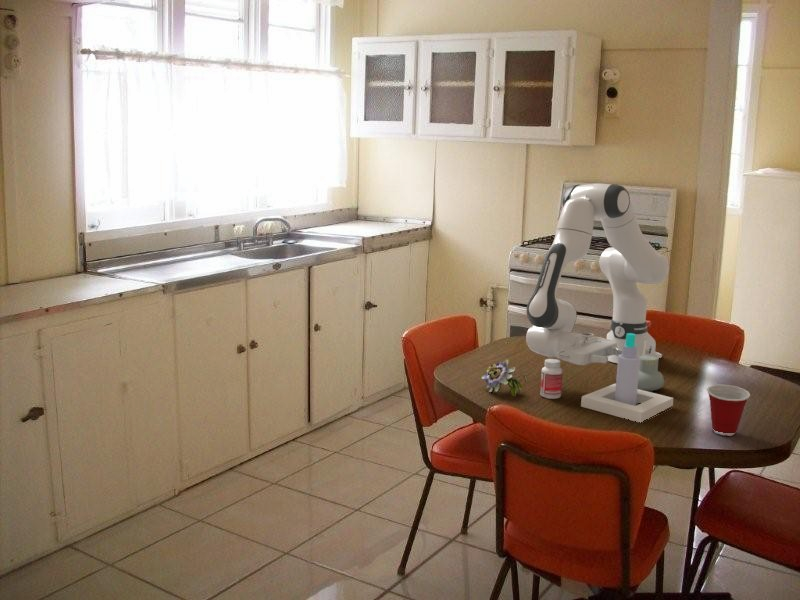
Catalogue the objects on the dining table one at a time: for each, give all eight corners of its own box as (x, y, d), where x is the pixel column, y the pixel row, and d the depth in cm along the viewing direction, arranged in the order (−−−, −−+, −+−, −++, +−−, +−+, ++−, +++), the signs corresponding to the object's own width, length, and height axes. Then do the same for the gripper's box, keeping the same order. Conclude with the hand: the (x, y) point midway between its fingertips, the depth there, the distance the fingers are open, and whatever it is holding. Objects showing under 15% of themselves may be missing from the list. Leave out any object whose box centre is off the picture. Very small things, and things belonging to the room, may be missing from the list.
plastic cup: (701, 436, 231) (706, 393, 229) (703, 423, 241) (707, 382, 239) (745, 443, 227) (750, 399, 225) (745, 429, 237) (750, 387, 235)
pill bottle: (565, 397, 261) (567, 361, 259) (550, 400, 258) (552, 364, 255) (550, 391, 266) (553, 356, 264) (535, 394, 263) (537, 359, 261)
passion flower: (490, 410, 265) (471, 375, 267) (515, 397, 271) (496, 363, 273) (512, 398, 256) (492, 362, 258) (536, 385, 262) (517, 350, 264)
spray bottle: (627, 412, 249) (634, 337, 244) (610, 407, 253) (615, 333, 249) (639, 408, 253) (646, 334, 248) (622, 403, 257) (627, 330, 253)
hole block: (614, 392, 267) (615, 383, 266) (672, 407, 254) (673, 397, 253) (580, 406, 253) (581, 396, 253) (640, 422, 240) (641, 412, 240)
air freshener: (665, 394, 267) (668, 362, 265) (638, 394, 266) (641, 362, 264) (653, 383, 278) (655, 353, 276) (627, 383, 277) (630, 352, 275)
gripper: (555, 343, 255) (597, 353, 246) (592, 332, 270) (633, 340, 261) (554, 364, 257) (595, 374, 248) (591, 351, 271) (631, 361, 262)
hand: (615, 357), depth 254 cm, fingers open, 8 cm apart
